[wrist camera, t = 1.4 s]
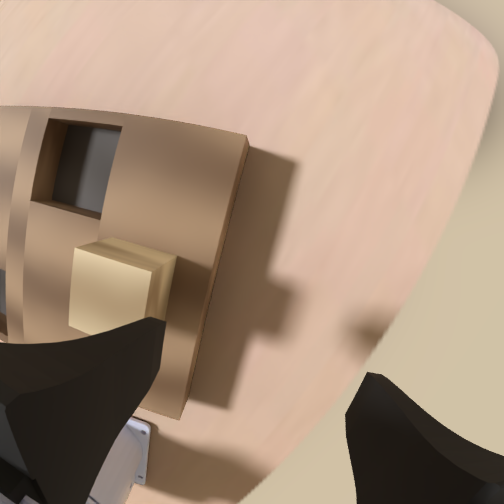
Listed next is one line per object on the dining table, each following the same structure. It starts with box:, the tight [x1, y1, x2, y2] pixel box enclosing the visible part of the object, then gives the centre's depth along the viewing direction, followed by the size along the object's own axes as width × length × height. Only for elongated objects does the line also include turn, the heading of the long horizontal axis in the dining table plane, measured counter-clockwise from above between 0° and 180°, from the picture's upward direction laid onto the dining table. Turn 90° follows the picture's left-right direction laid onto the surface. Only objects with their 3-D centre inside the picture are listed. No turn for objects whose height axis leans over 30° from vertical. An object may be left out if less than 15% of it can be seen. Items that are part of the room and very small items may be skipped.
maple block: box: [69, 237, 177, 335], centre depth 15 cm, size 4×4×4 cm
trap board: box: [0, 106, 249, 420], centre depth 18 cm, size 18×26×3 cm
